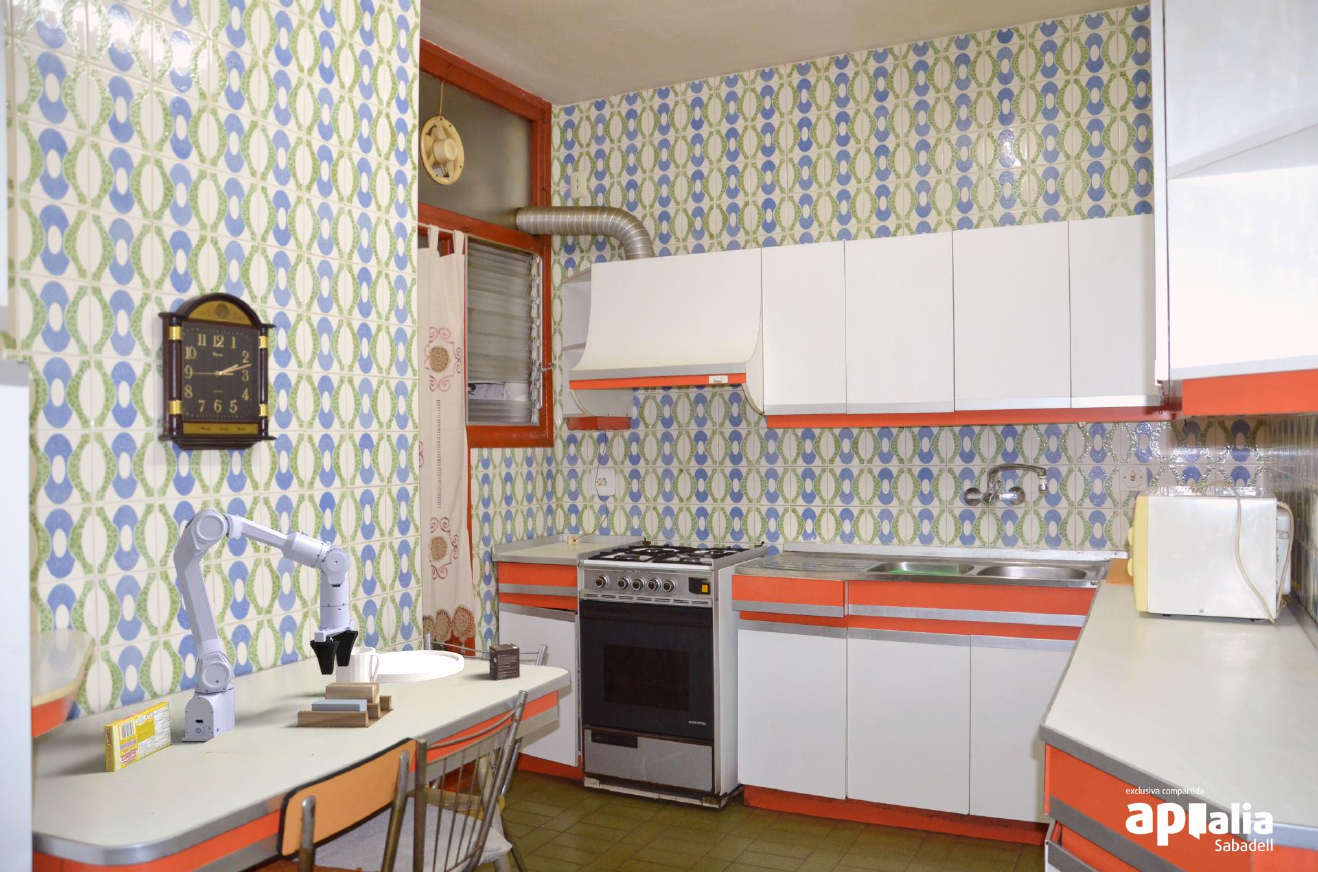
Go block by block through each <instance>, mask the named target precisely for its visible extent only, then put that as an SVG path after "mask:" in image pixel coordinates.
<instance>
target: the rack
mask: <svg viewBox="0 0 1318 872" xmlns="http://www.w3.org/2000/svg"><path fill="white" fill-rule="evenodd" d="M324 699H326V695H325V696H324ZM392 701H393V700H392V695H379V703H367V711H312V710H299V711H297V725H296V726H294V728H345V729H346V728H349V729H352V728H353V729H354V728H358V729H359V728H363V729H365V728H366V729H368V728H369V727H371V726H372V725H374V724H375V723H377V722H378V721H380V720H381V719H382V718H384V717H385V716H387V715H388V714H389V713H391V712H392V711H394V710H395V708H393V706H392V705H393V704H392V703H393V702H392Z"/></svg>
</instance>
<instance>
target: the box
mask: <svg viewBox="0 0 1318 872" xmlns="http://www.w3.org/2000/svg"><path fill="white" fill-rule="evenodd" d="M488 648H489V651H488V657H489V660H488V661H489V676H490V677H491V678H492V679H494V680H495V681H503V680H508V679H509V680H510V679H519V678H521V674H520V673H521V670H520V669H521V664H520V663H521V661H520V660H521V659H520V647H519V646H517V644H513V643H512V642H510V643H502V644H492V645H488Z"/></svg>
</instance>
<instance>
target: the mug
mask: <svg viewBox="0 0 1318 872" xmlns="http://www.w3.org/2000/svg"><path fill="white" fill-rule="evenodd" d="M379 654H380V653H378V652H376V648H374V647H372V646H353V648H352V652H351V657H350V662H349V665H348V666H347V667H338V665H337V660H336V654H335V661H334V668H335V682H375V680H376V678H377V675H378V671H379V668H380V665H381V656H380V655H379ZM375 657H376V658H377V663H376V667H375V670H374V660H375Z"/></svg>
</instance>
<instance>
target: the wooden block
mask: <svg viewBox="0 0 1318 872" xmlns="http://www.w3.org/2000/svg"><path fill="white" fill-rule="evenodd" d="M325 696H326V699H342V700H367V703H379V696H380V683H379V682H336V681H334V682H331V683H329V684H327V685H325Z"/></svg>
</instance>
